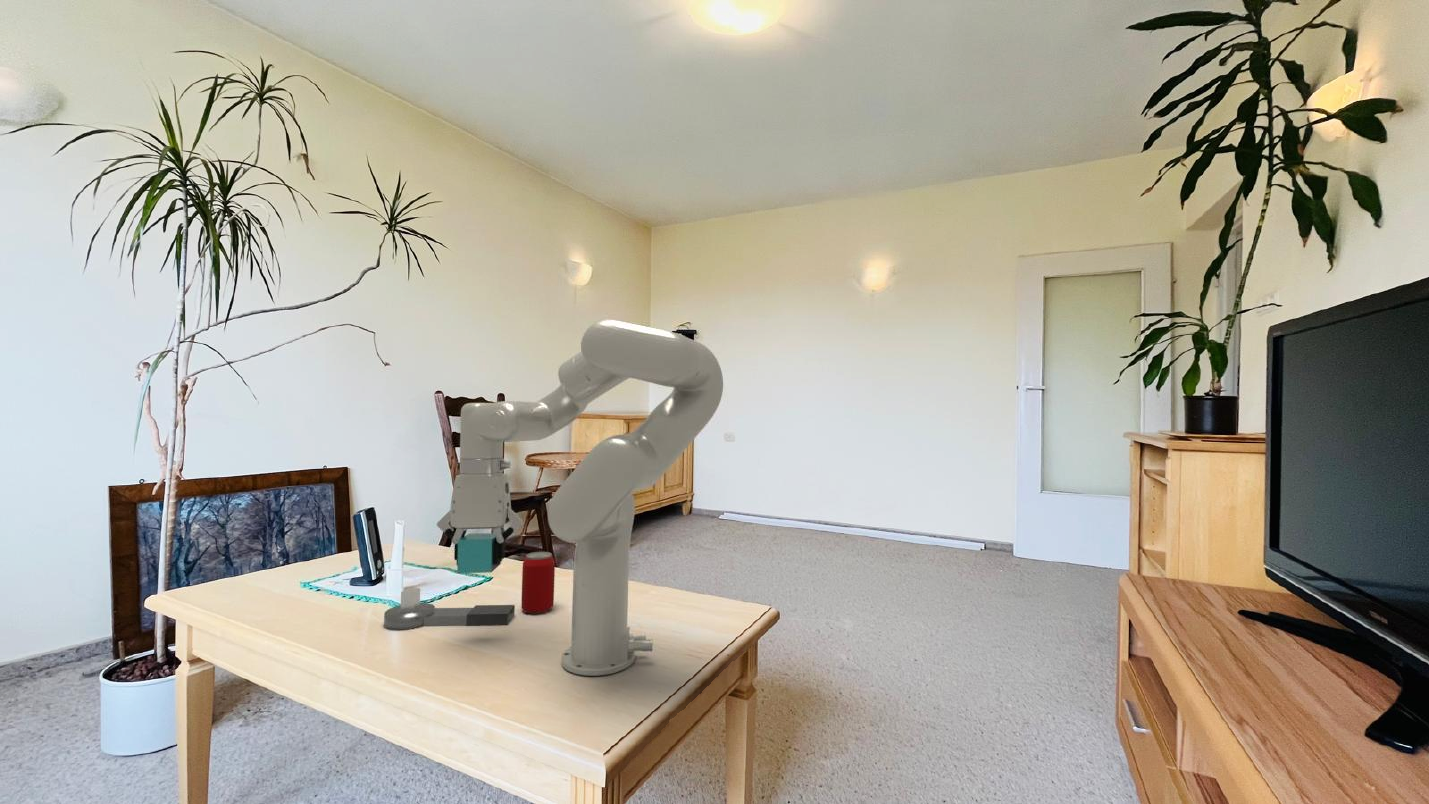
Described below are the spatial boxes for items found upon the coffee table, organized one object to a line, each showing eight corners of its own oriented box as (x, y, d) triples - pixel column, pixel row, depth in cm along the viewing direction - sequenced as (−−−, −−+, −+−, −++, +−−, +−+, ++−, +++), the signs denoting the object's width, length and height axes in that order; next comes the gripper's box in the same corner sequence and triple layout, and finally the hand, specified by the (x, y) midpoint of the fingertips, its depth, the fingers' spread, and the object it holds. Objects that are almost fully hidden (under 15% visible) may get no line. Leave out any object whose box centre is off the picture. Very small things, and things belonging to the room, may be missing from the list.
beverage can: (558, 605, 122) (559, 551, 123) (546, 616, 116) (547, 559, 116) (529, 604, 123) (531, 550, 123) (515, 614, 116) (517, 557, 117)
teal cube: (500, 564, 106) (501, 533, 107) (491, 572, 100) (491, 539, 101) (468, 564, 106) (469, 533, 106) (457, 573, 100) (457, 540, 100)
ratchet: (516, 613, 117) (517, 582, 118) (504, 629, 109) (506, 596, 109) (396, 615, 115) (398, 583, 115) (374, 631, 106) (376, 597, 106)
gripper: (532, 465, 108) (531, 557, 108) (441, 466, 107) (439, 559, 106) (523, 469, 101) (521, 567, 100) (425, 469, 99) (423, 570, 98)
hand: (479, 562), depth 103 cm, fingers closed on teal cube, 6 cm apart
